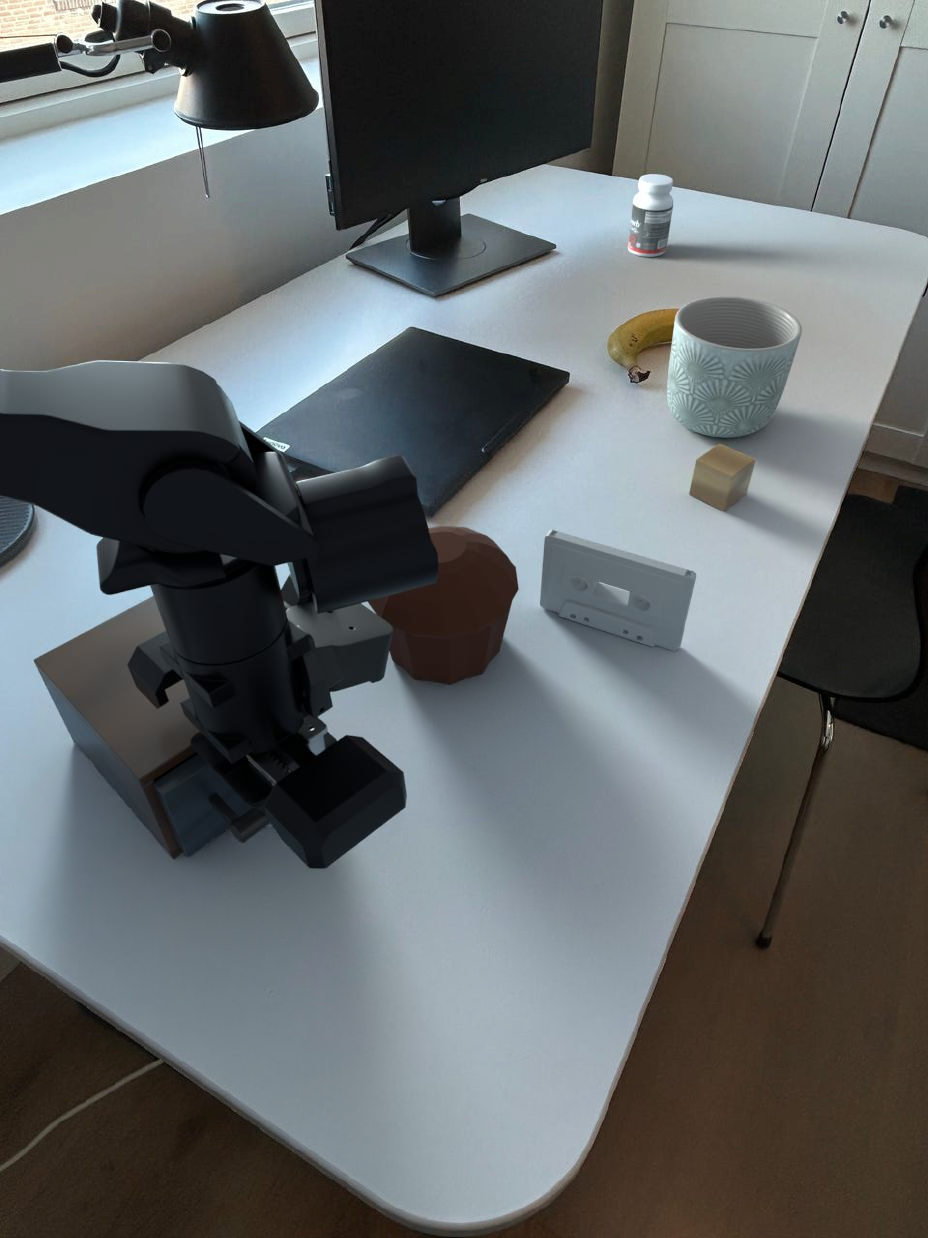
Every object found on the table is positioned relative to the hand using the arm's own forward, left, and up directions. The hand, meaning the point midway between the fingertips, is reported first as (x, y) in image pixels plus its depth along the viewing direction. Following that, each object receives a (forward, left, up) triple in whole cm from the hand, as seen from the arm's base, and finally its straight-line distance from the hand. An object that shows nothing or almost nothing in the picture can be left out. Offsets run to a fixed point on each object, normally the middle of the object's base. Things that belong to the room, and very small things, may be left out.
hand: (285, 817), depth 53 cm
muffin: (+20, +7, -5) cm, 22 cm away
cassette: (+31, -1, -5) cm, 31 cm away
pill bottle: (+98, +45, -5) cm, 108 cm away
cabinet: (0, +12, -5) cm, 13 cm away
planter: (+65, +11, -5) cm, 66 cm away
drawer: (0, +9, -4) cm, 9 cm away
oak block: (+53, +3, -5) cm, 53 cm away
